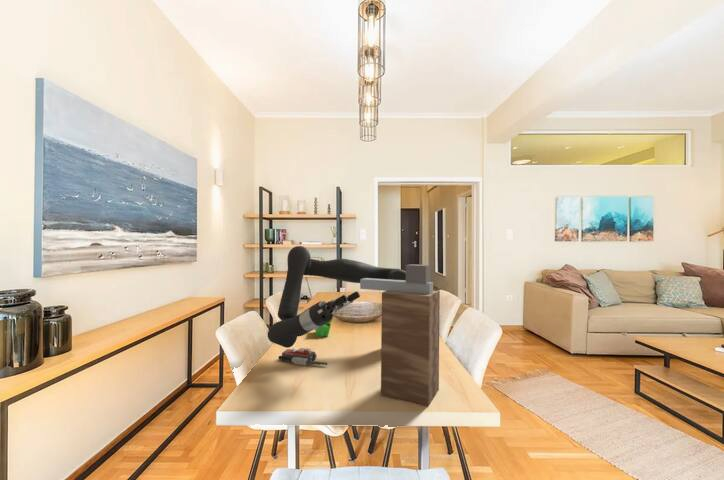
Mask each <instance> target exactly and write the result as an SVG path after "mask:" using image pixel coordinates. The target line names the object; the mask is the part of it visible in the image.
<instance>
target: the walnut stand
mask: <svg viewBox="0 0 724 480" xmlns="http://www.w3.org/2000/svg"><path fill="white" fill-rule="evenodd" d="M440 296H441V293H440V290H434V289H433V293H431V294H421V293H408V292H395V291H383V292H381V332H380V333H381V334H380V335H381V336H380V337H381V340H380V341H381V344H380V345H381V347H380V348H381V349H380V356H381V357H380V358H381V359H380V397H383V398H389V399H393V400H397V401H401V402H406V403H411V404H414V405H420V406H423V407H429V406H430V405H431V403H432V402H433V400H434V399H435V396H436V395H437V393H438V392H439V390H440V305H441V304H440V303H441V302H440V301H441V299H440Z"/></svg>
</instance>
